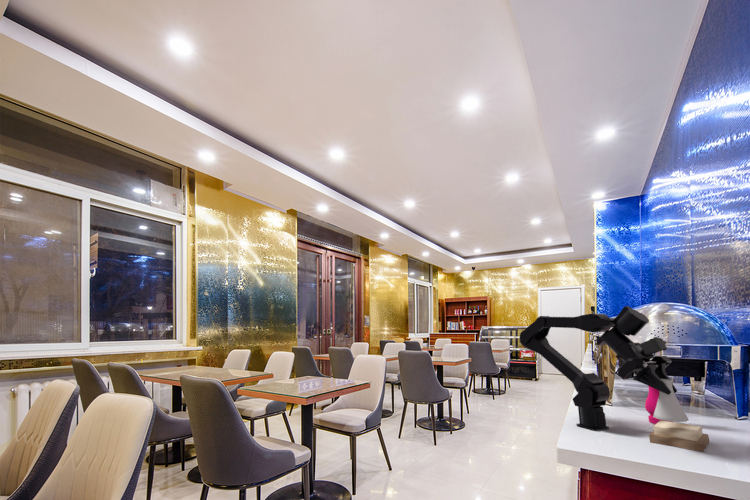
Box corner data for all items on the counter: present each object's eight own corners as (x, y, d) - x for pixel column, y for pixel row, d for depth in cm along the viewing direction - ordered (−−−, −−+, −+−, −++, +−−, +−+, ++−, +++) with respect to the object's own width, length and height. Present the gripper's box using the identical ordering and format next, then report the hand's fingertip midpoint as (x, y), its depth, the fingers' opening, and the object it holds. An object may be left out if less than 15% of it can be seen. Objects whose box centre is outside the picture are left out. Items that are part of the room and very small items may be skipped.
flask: (695, 421, 97) (688, 380, 99) (677, 424, 95) (670, 382, 96) (665, 415, 104) (659, 377, 106) (647, 417, 101) (642, 378, 103)
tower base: (649, 442, 101) (647, 426, 102) (659, 434, 109) (656, 419, 110) (703, 451, 94) (700, 434, 94) (709, 442, 101) (706, 426, 102)
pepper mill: (670, 421, 123) (660, 357, 127) (679, 427, 116) (669, 359, 120) (643, 419, 125) (635, 356, 129) (651, 425, 118) (642, 358, 122)
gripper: (624, 327, 102) (678, 375, 91) (659, 327, 111) (712, 370, 100) (598, 355, 108) (646, 404, 96) (633, 352, 117) (681, 396, 105)
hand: (672, 392), depth 99 cm, fingers closed on flask, 3 cm apart
